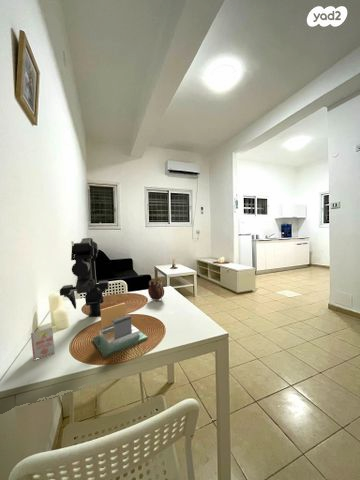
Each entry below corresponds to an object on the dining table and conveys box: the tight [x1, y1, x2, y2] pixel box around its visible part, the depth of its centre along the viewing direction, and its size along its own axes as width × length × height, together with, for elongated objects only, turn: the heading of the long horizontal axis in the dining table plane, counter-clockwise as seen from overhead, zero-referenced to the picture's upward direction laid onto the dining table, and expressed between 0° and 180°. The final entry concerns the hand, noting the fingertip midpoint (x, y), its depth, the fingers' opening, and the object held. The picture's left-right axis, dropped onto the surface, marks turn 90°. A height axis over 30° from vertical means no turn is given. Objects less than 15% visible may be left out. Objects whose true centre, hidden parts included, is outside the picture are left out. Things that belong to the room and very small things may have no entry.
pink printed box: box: [30, 326, 55, 361], centre depth 77 cm, size 4×7×10 cm, turn 126°
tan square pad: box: [100, 302, 127, 330], centre depth 88 cm, size 1×11×9 cm, turn 128°
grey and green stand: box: [92, 314, 148, 359], centre depth 85 cm, size 16×18×11 cm
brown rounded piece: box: [147, 277, 165, 302], centre depth 130 cm, size 11×5×15 cm, turn 58°
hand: (87, 306), depth 86 cm, fingers open, 9 cm apart
